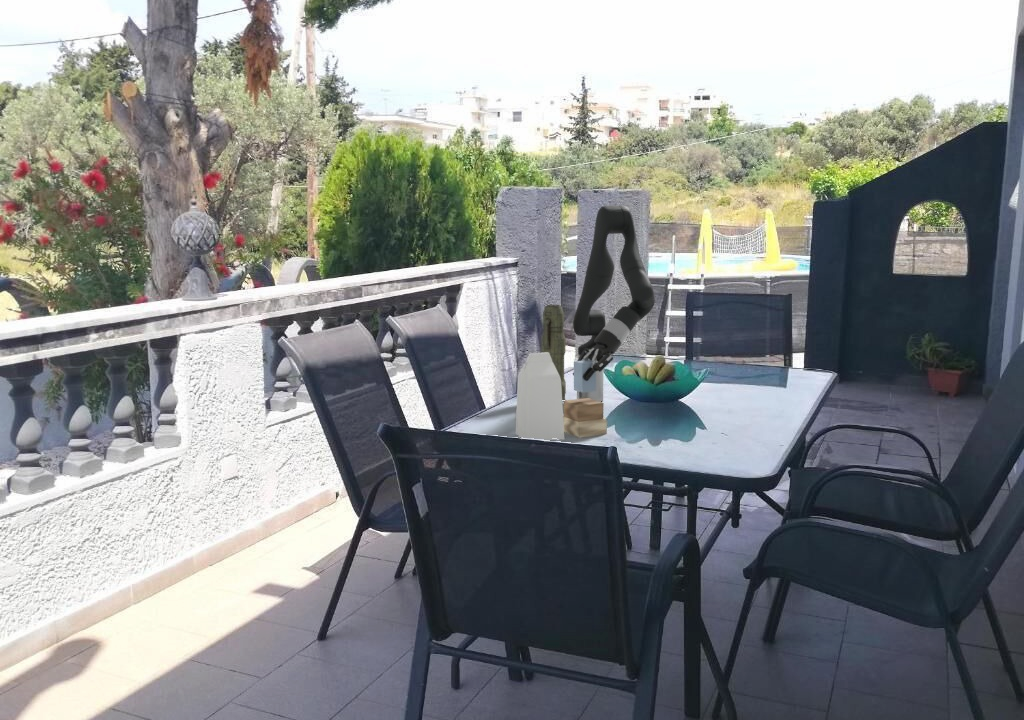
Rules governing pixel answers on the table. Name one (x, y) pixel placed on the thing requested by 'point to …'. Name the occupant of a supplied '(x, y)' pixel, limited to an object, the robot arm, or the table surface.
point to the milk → (539, 399)
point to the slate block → (579, 382)
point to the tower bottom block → (585, 427)
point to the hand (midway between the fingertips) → (579, 377)
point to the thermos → (554, 339)
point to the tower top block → (583, 409)
